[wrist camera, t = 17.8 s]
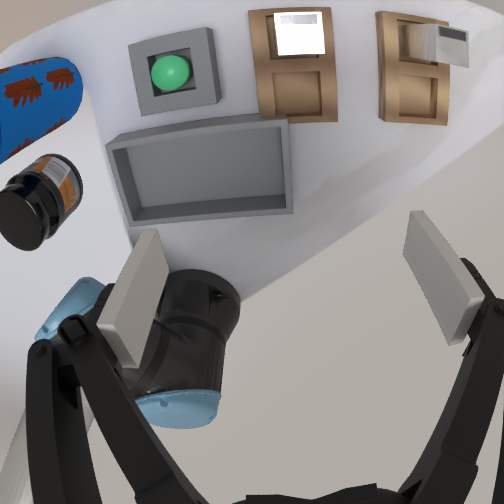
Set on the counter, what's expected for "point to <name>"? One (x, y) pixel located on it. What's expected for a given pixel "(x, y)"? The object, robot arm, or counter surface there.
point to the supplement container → (39, 201)
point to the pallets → (324, 74)
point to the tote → (204, 170)
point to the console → (188, 95)
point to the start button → (171, 72)
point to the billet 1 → (298, 33)
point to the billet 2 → (434, 43)
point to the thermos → (36, 101)
